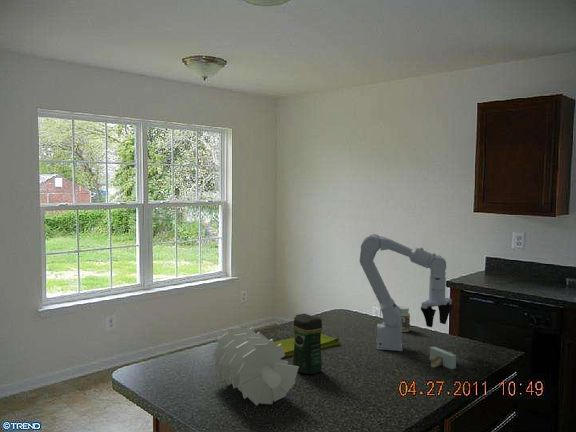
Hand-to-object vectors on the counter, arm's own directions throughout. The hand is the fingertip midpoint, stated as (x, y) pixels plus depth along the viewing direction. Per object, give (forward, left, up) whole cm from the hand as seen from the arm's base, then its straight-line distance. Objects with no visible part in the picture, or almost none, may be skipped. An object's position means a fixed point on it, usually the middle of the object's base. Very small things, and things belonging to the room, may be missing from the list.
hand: (436, 325), depth 179 cm
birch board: (+1, -12, -10) cm, 16 cm away
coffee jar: (-44, -28, -11) cm, 53 cm away
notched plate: (+1, -12, -10) cm, 16 cm away
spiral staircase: (-57, -49, -11) cm, 76 cm away
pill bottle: (-11, +26, -11) cm, 30 cm away
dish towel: (-53, -7, -11) cm, 55 cm away
